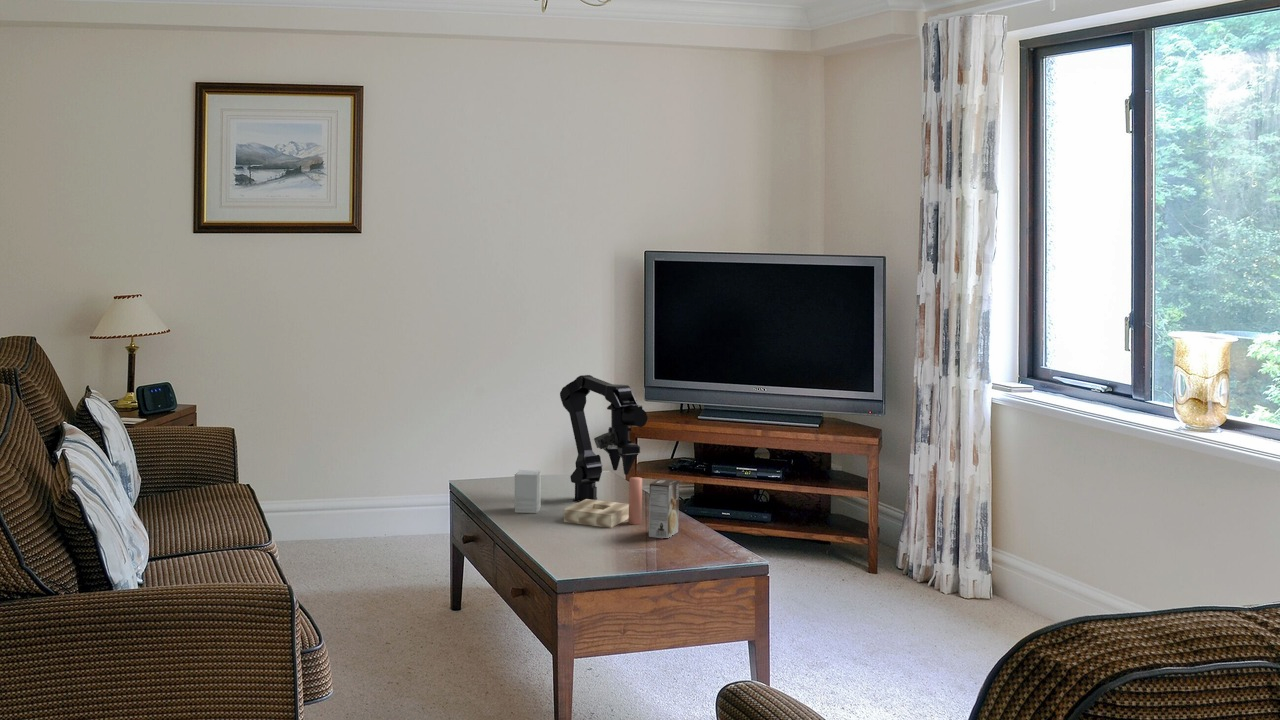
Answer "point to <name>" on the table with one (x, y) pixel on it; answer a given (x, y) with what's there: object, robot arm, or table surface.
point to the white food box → (663, 508)
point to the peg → (635, 500)
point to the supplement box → (527, 491)
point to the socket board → (597, 513)
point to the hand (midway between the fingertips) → (620, 472)
